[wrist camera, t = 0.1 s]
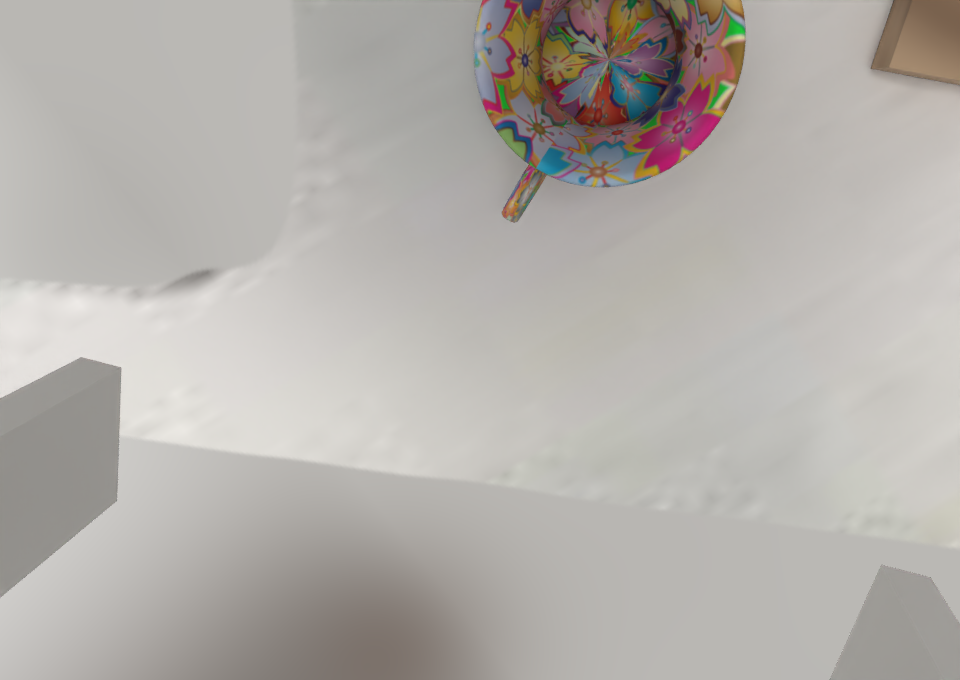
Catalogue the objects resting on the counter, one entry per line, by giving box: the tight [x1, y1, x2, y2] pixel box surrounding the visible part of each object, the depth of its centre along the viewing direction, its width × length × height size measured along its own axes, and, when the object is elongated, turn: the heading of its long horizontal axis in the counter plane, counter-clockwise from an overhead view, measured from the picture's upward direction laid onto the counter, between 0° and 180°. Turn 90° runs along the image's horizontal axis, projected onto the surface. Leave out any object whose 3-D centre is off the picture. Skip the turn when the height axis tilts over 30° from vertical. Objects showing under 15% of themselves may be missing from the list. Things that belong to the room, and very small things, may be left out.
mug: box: [474, 0, 745, 223], centre depth 32 cm, size 12×9×11 cm
